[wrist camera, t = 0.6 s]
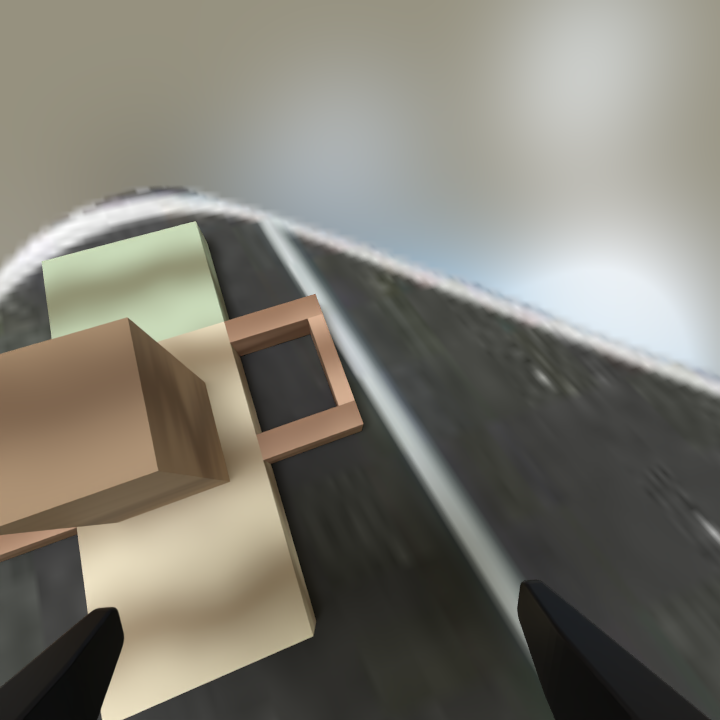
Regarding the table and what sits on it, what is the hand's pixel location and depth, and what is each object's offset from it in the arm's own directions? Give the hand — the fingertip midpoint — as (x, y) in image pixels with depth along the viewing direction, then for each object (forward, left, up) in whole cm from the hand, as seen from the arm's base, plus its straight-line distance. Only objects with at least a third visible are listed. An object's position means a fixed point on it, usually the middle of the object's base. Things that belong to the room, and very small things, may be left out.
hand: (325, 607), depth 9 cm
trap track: (+9, +7, -15) cm, 19 cm away
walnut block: (+8, +7, -13) cm, 17 cm away
